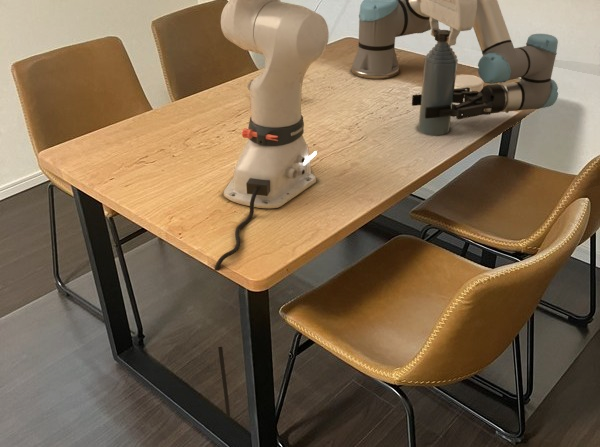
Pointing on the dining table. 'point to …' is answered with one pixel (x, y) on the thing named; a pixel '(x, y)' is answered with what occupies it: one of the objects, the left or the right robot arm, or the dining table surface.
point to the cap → (442, 35)
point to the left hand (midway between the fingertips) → (442, 40)
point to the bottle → (437, 87)
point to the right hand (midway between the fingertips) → (419, 106)
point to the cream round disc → (469, 82)
